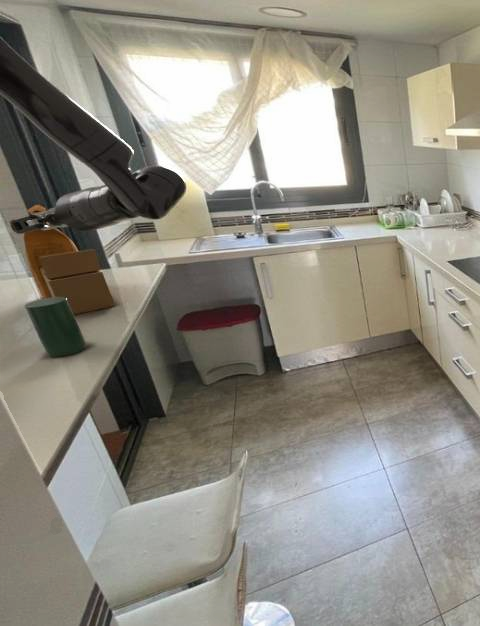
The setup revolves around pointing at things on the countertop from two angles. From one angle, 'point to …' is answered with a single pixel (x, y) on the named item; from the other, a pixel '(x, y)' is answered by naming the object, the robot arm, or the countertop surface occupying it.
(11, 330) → the countertop surface
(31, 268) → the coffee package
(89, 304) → the carton
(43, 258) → the flap
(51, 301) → the tea tin
